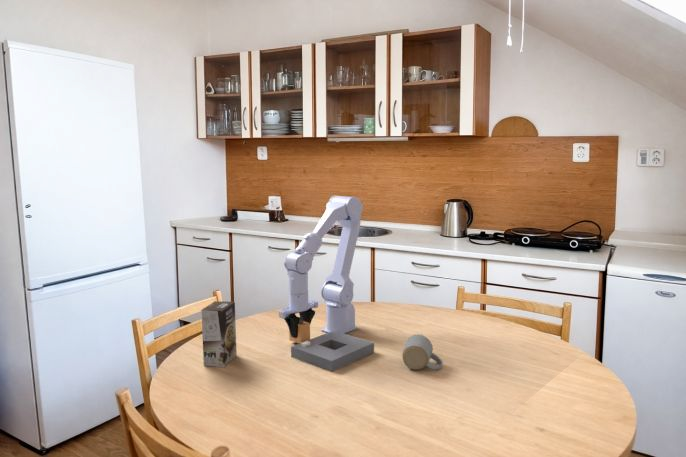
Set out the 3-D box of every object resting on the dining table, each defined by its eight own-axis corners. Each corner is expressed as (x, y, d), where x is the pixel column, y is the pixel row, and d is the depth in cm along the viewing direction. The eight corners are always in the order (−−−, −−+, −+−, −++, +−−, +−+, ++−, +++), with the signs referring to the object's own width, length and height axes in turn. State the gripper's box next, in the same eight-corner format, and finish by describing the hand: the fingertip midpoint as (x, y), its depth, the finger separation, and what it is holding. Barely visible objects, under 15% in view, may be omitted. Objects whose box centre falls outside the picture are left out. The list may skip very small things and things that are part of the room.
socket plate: (334, 339, 166) (333, 328, 166) (374, 352, 156) (374, 340, 155) (291, 356, 153) (290, 343, 153) (331, 371, 143) (331, 358, 142)
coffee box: (224, 367, 146) (222, 310, 144) (202, 366, 147) (200, 309, 145) (237, 355, 155) (235, 301, 152) (217, 353, 156) (214, 300, 154)
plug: (299, 336, 167) (298, 315, 166) (310, 340, 164) (309, 318, 163) (289, 340, 164) (288, 318, 163) (300, 344, 161) (300, 321, 160)
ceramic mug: (400, 370, 143) (401, 342, 142) (405, 358, 151) (406, 332, 150) (440, 374, 141) (442, 347, 140) (443, 362, 149) (444, 336, 147)
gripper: (306, 285, 169) (307, 326, 172) (271, 294, 159) (273, 338, 161) (322, 288, 165) (323, 331, 167) (287, 299, 154) (288, 344, 156)
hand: (299, 335), depth 164 cm, fingers closed on plug, 4 cm apart
